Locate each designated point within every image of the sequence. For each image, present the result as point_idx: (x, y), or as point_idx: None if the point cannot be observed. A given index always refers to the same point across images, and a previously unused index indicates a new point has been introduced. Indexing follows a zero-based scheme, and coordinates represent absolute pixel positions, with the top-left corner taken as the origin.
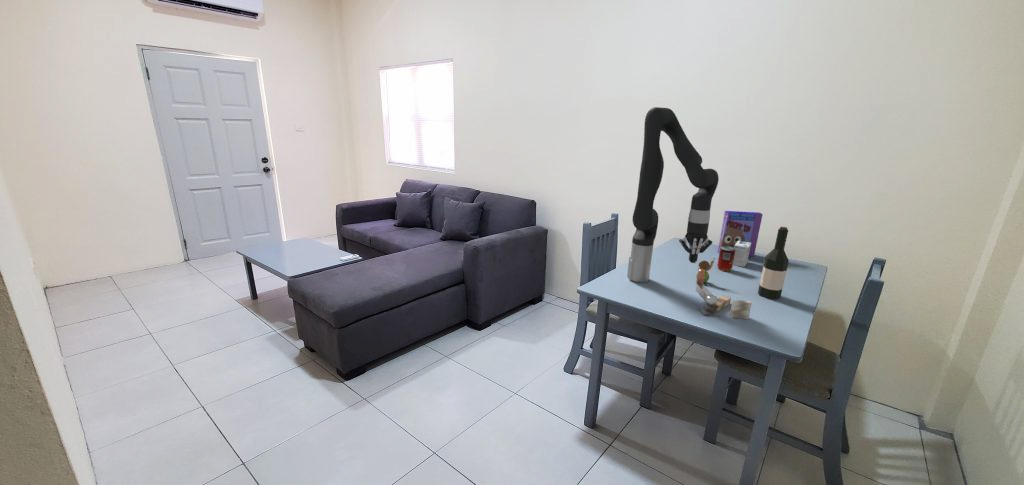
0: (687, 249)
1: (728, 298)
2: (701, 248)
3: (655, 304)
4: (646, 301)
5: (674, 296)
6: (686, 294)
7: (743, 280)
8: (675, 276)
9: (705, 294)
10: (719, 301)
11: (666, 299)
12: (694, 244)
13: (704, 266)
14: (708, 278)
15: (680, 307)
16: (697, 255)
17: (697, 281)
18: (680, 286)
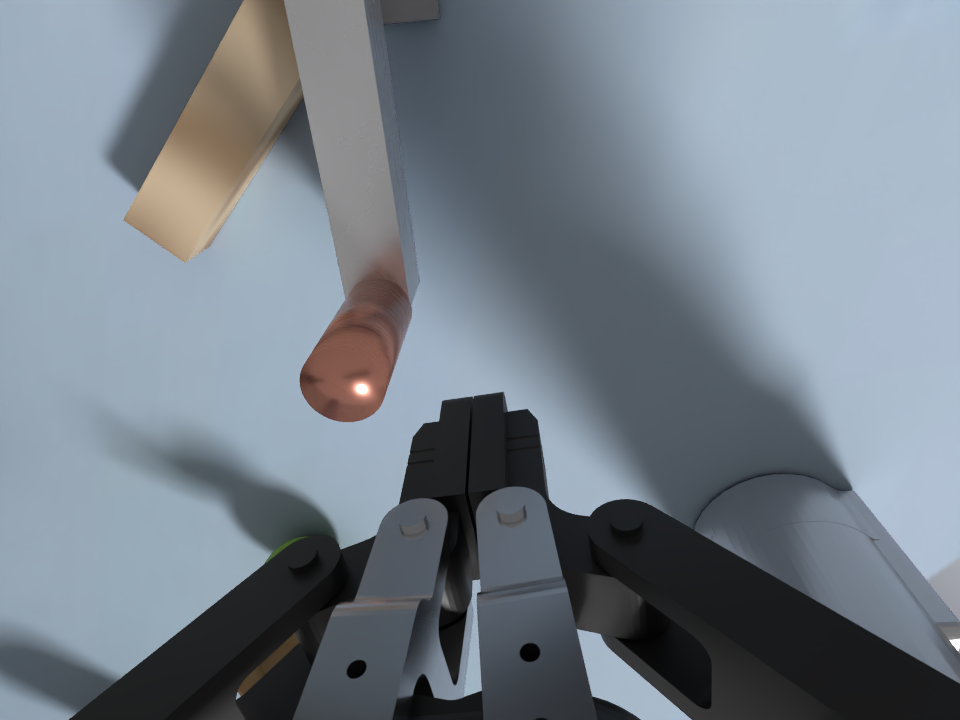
0: (690, 556)
1: (145, 198)
2: (301, 675)
3: (836, 29)
4: (897, 88)
5: (587, 261)
6: (475, 321)
7: (51, 609)
8: None
9: (368, 16)
10: (231, 102)
11: (681, 179)
12: (538, 704)
13: (278, 654)
14: (268, 559)
15: (606, 8)
16: (409, 498)
17: (403, 308)
18: None
